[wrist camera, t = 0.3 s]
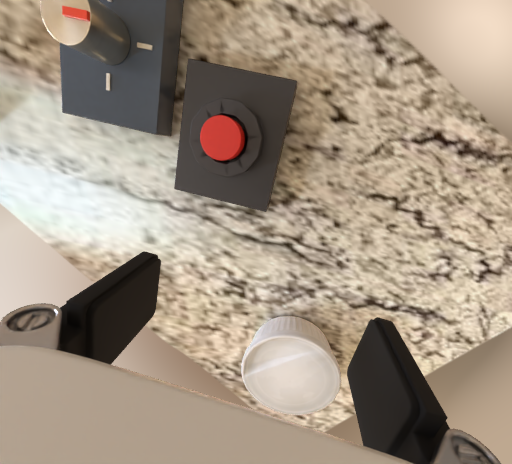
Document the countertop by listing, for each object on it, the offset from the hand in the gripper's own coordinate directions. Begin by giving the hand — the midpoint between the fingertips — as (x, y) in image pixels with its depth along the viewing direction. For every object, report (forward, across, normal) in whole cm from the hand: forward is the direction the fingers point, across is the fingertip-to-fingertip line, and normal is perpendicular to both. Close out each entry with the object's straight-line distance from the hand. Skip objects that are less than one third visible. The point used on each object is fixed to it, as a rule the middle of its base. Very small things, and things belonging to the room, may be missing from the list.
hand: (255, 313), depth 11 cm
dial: (+15, +19, -12) cm, 27 cm away
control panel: (+18, +19, -12) cm, 29 cm away
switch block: (+18, +6, -6) cm, 20 cm away
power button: (+14, +7, -7) cm, 17 cm away
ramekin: (+18, -6, +16) cm, 25 cm away
